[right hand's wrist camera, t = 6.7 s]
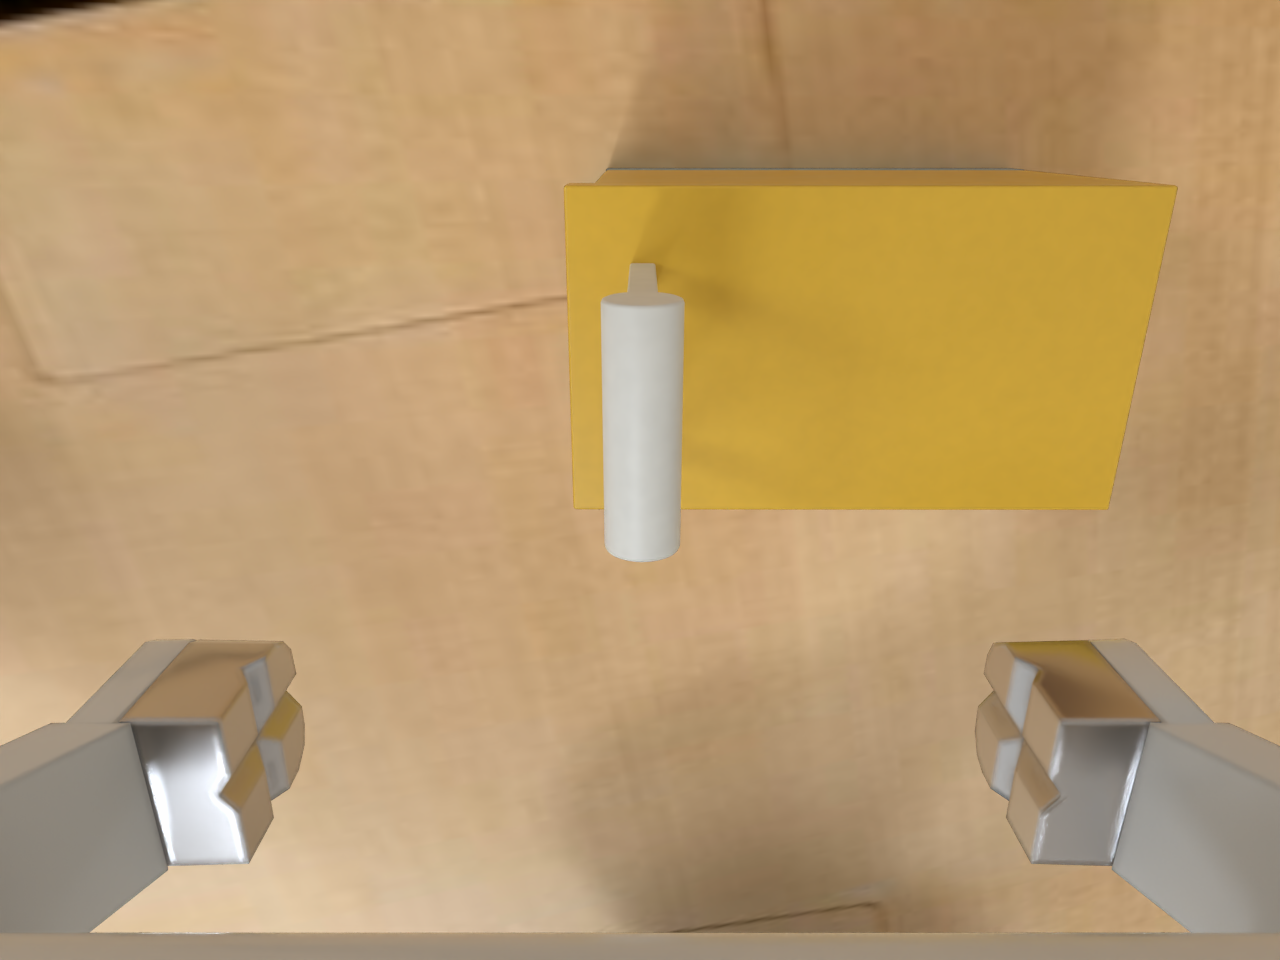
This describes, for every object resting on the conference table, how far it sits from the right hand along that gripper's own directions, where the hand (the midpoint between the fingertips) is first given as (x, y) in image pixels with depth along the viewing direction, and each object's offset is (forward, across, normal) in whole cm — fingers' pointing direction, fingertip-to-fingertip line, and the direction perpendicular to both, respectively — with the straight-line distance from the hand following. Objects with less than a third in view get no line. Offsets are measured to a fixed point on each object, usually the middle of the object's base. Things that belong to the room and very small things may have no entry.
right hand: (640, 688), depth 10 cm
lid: (+17, +6, 0) cm, 18 cm away
